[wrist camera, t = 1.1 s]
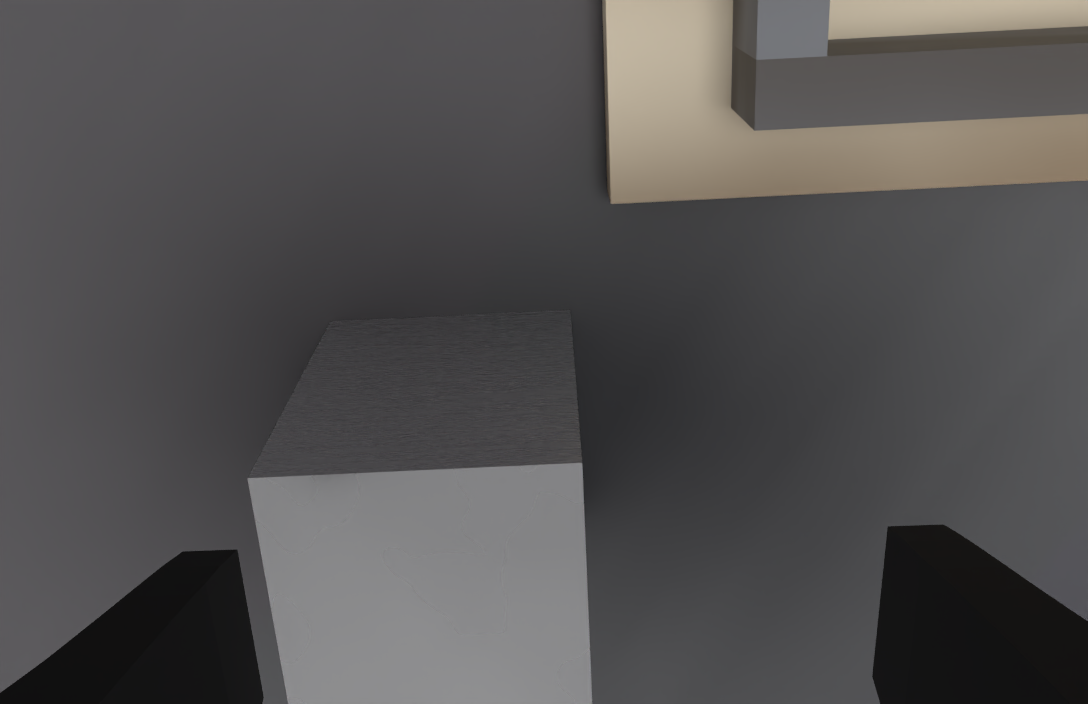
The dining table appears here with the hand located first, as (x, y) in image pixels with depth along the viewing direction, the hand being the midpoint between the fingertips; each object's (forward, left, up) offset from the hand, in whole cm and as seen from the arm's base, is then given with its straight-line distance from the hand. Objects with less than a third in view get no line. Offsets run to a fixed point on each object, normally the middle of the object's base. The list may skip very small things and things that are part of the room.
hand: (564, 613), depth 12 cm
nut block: (-2, +2, -9) cm, 9 cm away
